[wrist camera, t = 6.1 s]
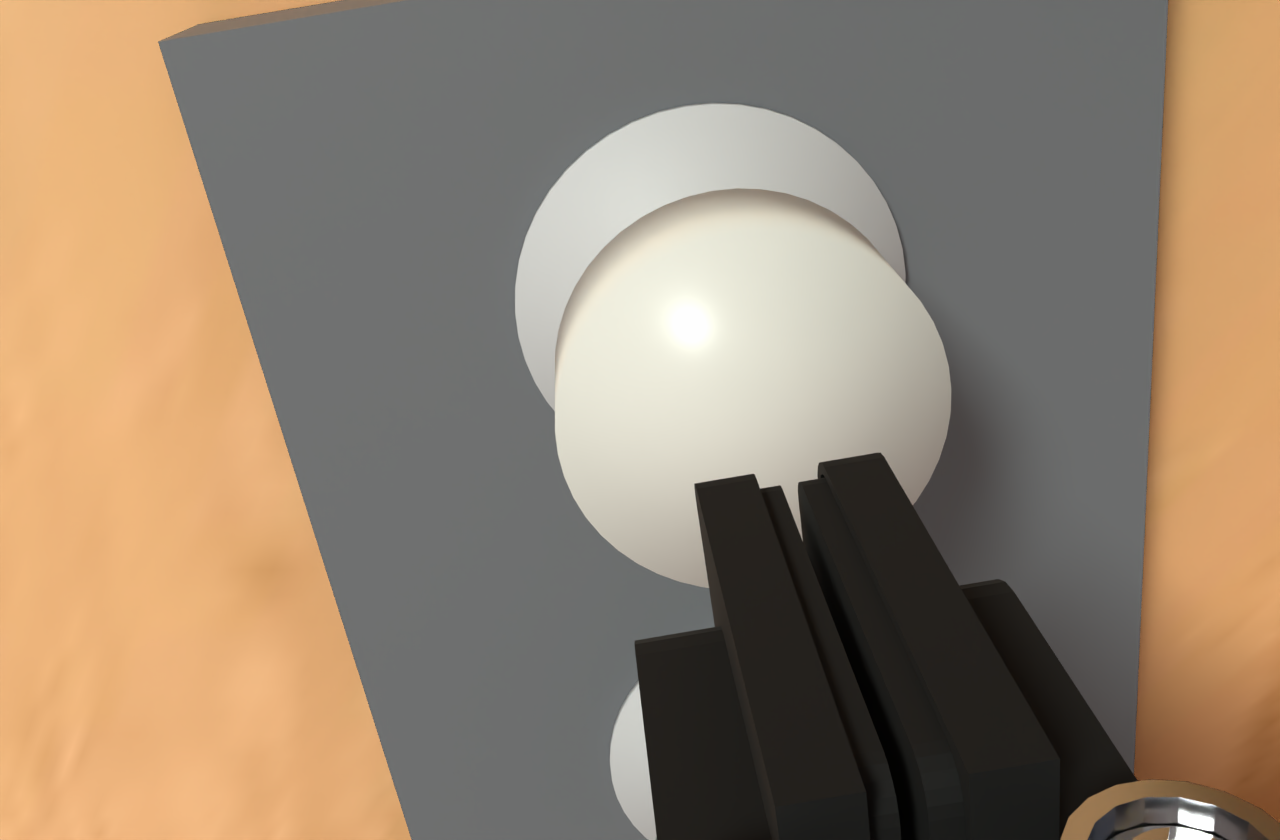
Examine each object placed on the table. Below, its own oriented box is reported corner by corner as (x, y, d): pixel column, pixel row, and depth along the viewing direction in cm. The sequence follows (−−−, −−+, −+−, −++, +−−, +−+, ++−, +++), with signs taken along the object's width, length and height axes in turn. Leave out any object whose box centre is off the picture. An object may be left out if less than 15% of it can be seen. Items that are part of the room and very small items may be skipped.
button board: (1110, -129, 18) (1180, -128, 16) (1082, 1072, 30) (1120, 1158, 28) (198, 24, 18) (153, 43, 16) (540, 1161, 30) (540, 1253, 28)
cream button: (880, 142, 16) (944, 195, 13) (899, 458, 18) (957, 557, 15) (525, 201, 16) (519, 266, 13) (585, 510, 18) (591, 617, 15)
